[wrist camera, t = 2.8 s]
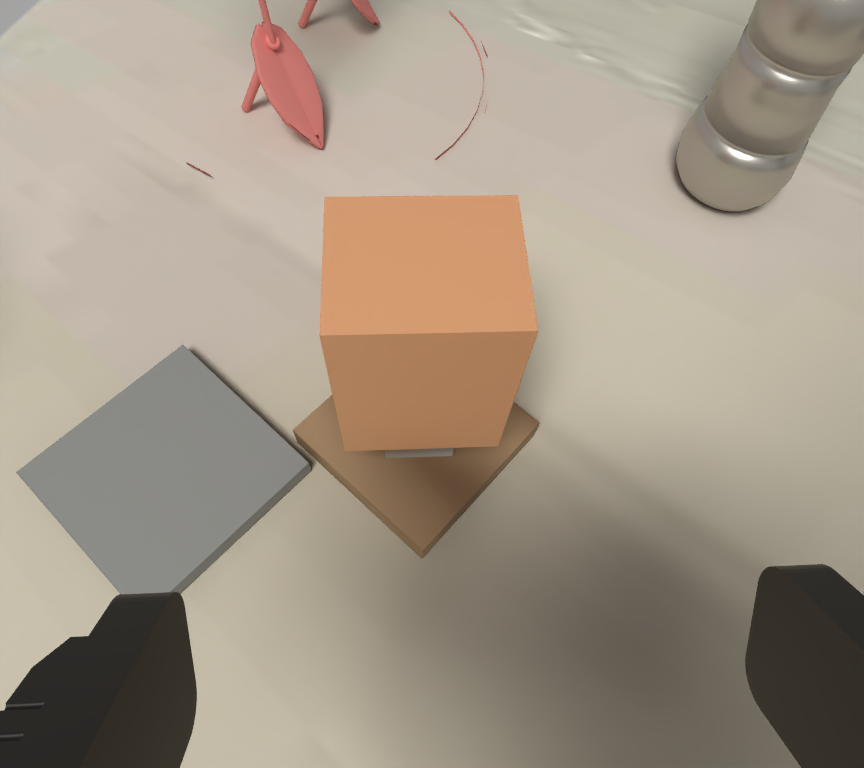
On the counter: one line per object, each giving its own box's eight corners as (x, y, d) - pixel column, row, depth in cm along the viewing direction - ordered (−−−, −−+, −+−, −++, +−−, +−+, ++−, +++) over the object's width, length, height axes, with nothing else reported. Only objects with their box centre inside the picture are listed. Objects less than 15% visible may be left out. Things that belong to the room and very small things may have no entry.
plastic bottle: (698, 236, 37) (966, -200, 20) (646, 155, 40) (838, -289, 22) (792, 214, 38) (1127, -219, 21) (735, 136, 41) (985, -301, 24)
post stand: (302, 340, 33) (252, 149, 22) (520, 335, 34) (578, 148, 22) (291, 564, 28) (217, 461, 17) (549, 553, 28) (643, 448, 17)
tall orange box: (346, 341, 27) (324, 197, 20) (486, 338, 28) (518, 195, 20) (344, 451, 25) (319, 335, 17) (497, 446, 25) (538, 330, 18)
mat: (188, 354, 32) (183, 344, 31) (311, 470, 30) (308, 462, 29) (27, 479, 29) (16, 472, 28) (150, 621, 26) (141, 618, 26)
